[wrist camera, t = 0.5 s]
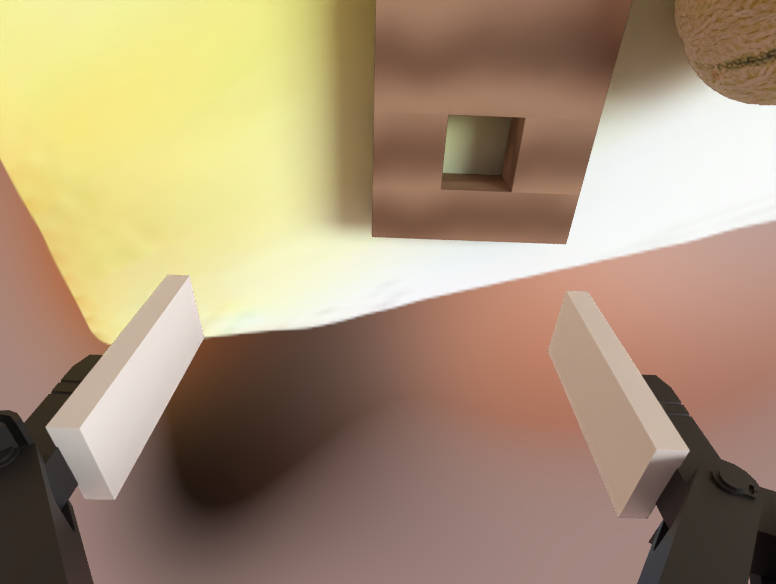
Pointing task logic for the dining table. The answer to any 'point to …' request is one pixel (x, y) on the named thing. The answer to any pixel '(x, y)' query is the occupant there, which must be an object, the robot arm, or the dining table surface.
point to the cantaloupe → (731, 46)
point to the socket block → (488, 112)
